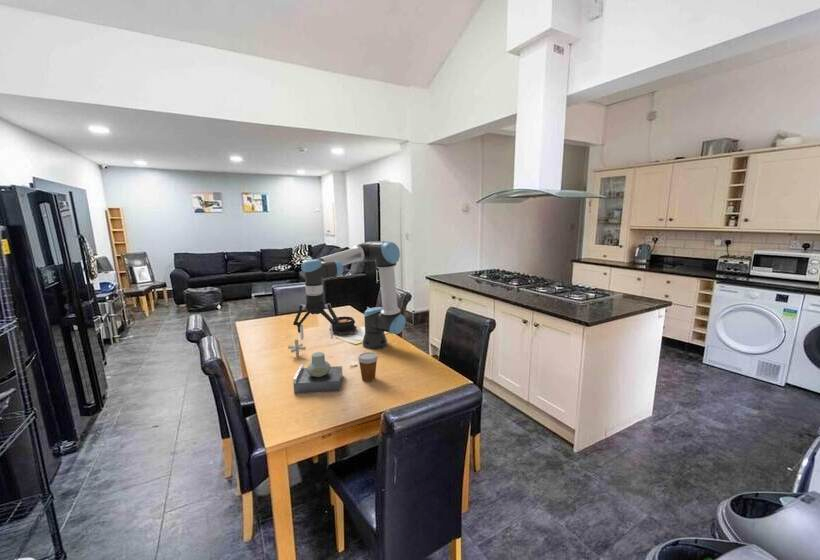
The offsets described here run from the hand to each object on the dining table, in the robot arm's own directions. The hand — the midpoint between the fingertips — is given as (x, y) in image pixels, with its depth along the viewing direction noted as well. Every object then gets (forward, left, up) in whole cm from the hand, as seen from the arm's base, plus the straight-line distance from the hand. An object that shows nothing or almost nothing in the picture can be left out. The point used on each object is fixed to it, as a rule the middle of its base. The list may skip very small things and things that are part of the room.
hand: (317, 338), depth 161 cm
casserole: (-4, -78, -23) cm, 81 cm away
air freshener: (0, 0, -18) cm, 18 cm away
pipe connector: (+18, -36, -23) cm, 46 cm away
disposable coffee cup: (-23, -3, -23) cm, 32 cm away
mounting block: (0, 0, -23) cm, 23 cm away
